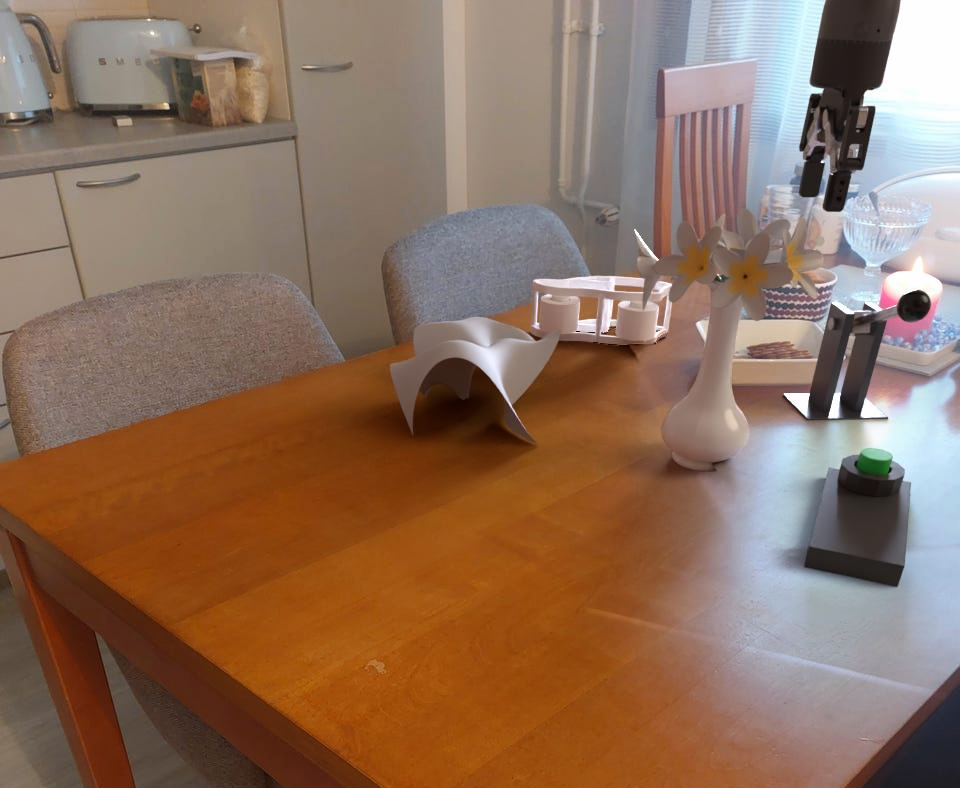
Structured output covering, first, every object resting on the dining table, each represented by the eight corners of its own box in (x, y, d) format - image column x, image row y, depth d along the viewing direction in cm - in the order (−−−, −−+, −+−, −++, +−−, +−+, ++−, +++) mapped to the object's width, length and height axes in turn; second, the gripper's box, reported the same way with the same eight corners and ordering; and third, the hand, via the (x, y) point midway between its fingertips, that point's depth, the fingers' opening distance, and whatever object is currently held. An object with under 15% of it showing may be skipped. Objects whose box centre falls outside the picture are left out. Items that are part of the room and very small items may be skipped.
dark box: (824, 483, 97) (833, 448, 95) (905, 498, 95) (916, 462, 92) (803, 567, 83) (813, 528, 81) (897, 587, 81) (910, 547, 78)
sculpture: (419, 361, 125) (418, 286, 119) (559, 370, 123) (564, 295, 118) (382, 434, 105) (378, 349, 99) (548, 445, 103) (554, 359, 98)
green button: (857, 461, 93) (861, 445, 92) (888, 467, 92) (893, 451, 91) (855, 473, 91) (859, 456, 90) (887, 479, 90) (892, 462, 89)
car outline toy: (524, 342, 133) (526, 289, 128) (536, 320, 141) (539, 270, 137) (664, 355, 129) (672, 301, 125) (668, 331, 138) (675, 280, 134)
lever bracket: (885, 426, 110) (918, 318, 103) (805, 428, 109) (832, 318, 102) (857, 401, 117) (885, 297, 109) (781, 402, 116) (804, 298, 108)
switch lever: (936, 320, 94) (938, 286, 93) (906, 320, 93) (908, 286, 93) (862, 339, 108) (863, 311, 108) (835, 339, 108) (837, 311, 107)
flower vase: (602, 436, 106) (627, 199, 91) (760, 437, 107) (810, 202, 92) (620, 488, 95) (652, 228, 81) (796, 488, 96) (859, 231, 81)
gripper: (919, 39, 91) (875, 217, 100) (865, 32, 102) (830, 192, 112) (843, 38, 91) (807, 216, 100) (798, 31, 102) (769, 191, 112)
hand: (819, 203), depth 106 cm, fingers open, 8 cm apart
